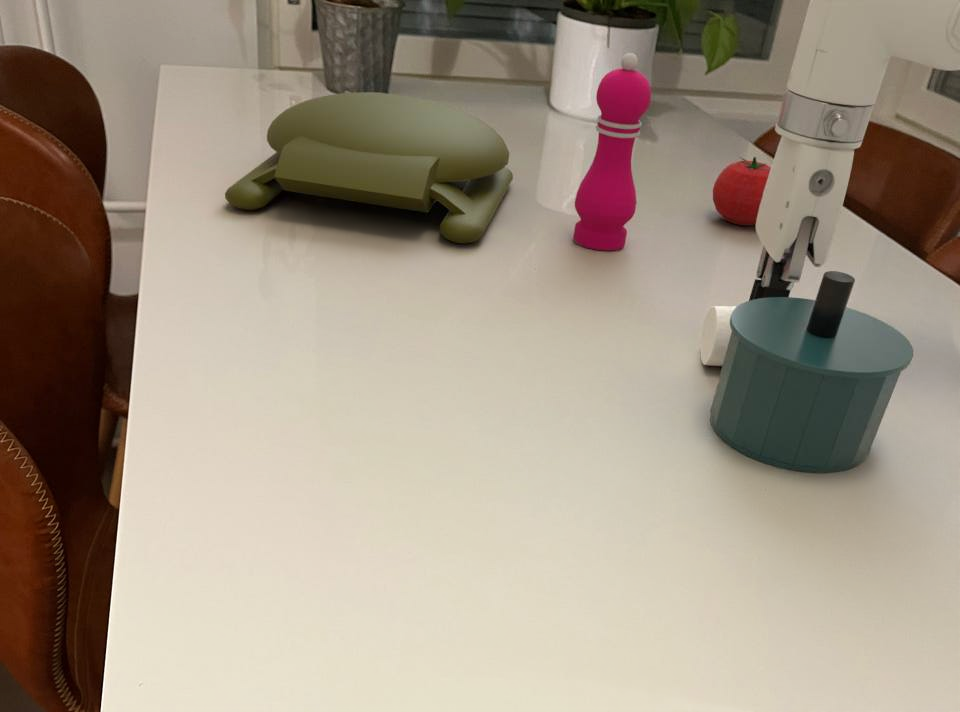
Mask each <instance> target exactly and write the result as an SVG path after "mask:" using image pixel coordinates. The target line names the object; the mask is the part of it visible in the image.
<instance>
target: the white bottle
mask: <svg viewBox="0 0 960 712" xmlns="http://www.w3.org/2000/svg"><path fill="white" fill-rule="evenodd" d="M736 307H737V306H736V305H735V306H734V305H731V306H730V305H729V306H728V305H712V306H711V307H710V308H709V309H708V311H707V313H706V315H705V318H704V322H703V325H702V331H701V338H700V339H701V340H700V362H701V363H702V365H704V366H711V367H714V366H715V367H722V366H723V362H724V359H725V355H726V351H727V347H728V344H729V340H730V336H731V333H732V330H731V327H730V317H731V314H732V312H733V310H734V309H735V308H736Z"/></svg>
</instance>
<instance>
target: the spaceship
mask: <svg viewBox="0 0 960 712" xmlns="http://www.w3.org/2000/svg"><path fill="white" fill-rule="evenodd" d="M266 132H267V133H266V142H267V144H268V145H269V147H270V148H271V149H272V150H274V151H275V152H274V153H273V154H272V155H271V156H269V157H268V158H267V159H266V160H264V161H263V162H261V163H260V164H259V165H258V166H256V167H255V168H253V169H252V170H251V171H250V172H248V173H247V174H246V175H244V176H243V177H241V178H240V179H239V180H237V181H235V183H234V184H231V186H229V187H228V188H227V189H226V191H225V193H224V198H225V200H226V201H227V202H228V204H229V205H231V206H233V207H235V208H237V209H240V210H246V211H254V210H258V209H261V208H263V207H265V206H267V204H269V203H270V202H271V201H272V200H274V199H275V198H276V197H277V196H278V195H279V194H281V192H283V191H285V192H291V193H297V194H303V195H304V194H305V195H312V196H317V197H325V198H330V199H336V200H342V201H350V202H356V203H364V204H369V205H377V206H381V207H387V208H393V209H394V208H395V209H401V210H408V211H415V212H420V213H421V212H422V213H428V212H429V211H430V210H431V208H432V207H433V206H434V204H435V203H436V201H437V202H439V203H440V205H442V206H443V207H445V208H446V209H447V210H448V211H447V214H446V215H445V216H444V218H443V219H442V221H441V223H440V224H439V232H440V234H441V235H442V237H444V238H445V239H447V240H448V241H450V242H453V243H456V244H464V245H465V244H471V243H474V242H477V241H478V240H480V239H481V238H482V237H483V235H484V233H485V231H486V230H487V227H488V226H489V223H490V222H491V220H492V218H493V216H494V214H495V213H496V211H497V209H498V207H499V206H500V204H501V202H502V200H503V198H504V196H505V194H506V193H507V190H508V189H509V187H510V185H511V183H512V181H513V178H514V175H513V172H512V171H511V170H510V169H509V168H508V167H506V166H507V165H508V164H509V159H510V150H509V149H508V146H507V144H506V142H505V140H504V138H503V137H502V136H501V135H500V134H499V133H498V132H497V131H496V130H495V129H494V128H493V127H492V126H491V125H489V124H488V123H486V122H485V121H483V120H482V119H480V118H478V117H476V116H475V115H473V114H472V113H469V112H467V111H465V110H462V109H460V108H457V107H455V106H452V105H449V104H446V103H443V102H440V101H436V100H433V99H428V98H418V97H414V96H409V95H403V94H395V93H388V92H375V91H368V92H367V91H365V92H363V91H361V92H360V91H359V92H341V93H340V92H339V93H334V94H328V95H324V96H318V97H314V98H310V99H307V100H303V101H302V102H300V103H297V104H295V105H292V106H290V107H288V108H286V109H285V110H284V111H282V112H281V113H280V114H278V115H277V116H276V117H275V118H274V119H273V120H272V121H271V123H270V125H269V127H268V129H267V131H266ZM462 181H467V183H466V185H465V186H464V188H463V189H462V190H460V188H458V187H456V185H454V184H453V182H462Z"/></svg>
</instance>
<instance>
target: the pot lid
mask: <svg viewBox="0 0 960 712" xmlns="http://www.w3.org/2000/svg"><path fill="white" fill-rule="evenodd" d="M855 282H856V279H855V277H854V276H852V275H851V274H848V273H845V272H842V271H837V270H828V271H825V272H824V273H823V275H822V279H821V281H820V285H819V288H818V291H817V294H816V298H815V299H810V298H803V297H802V298H801V297H792V296H789V297H769V298H760V299H754V300H750V301H749V300H747V301H745V302H743V303H740V304H738V305H737V306H736V308H735V309H734V310H733V312H732V314H731V317H730V327H731V330H732V331H733V333H734V335H735V336H736V337H737V338H738V339H739V340H740V341H741V342H743V343H744V344H745V345H746V346H748V347H749V348H751V349H752V350H754V351H756V352H758V353H759V354H761V355H763V356H765V357H768V358H770V359H772V360H774V361H777V362H779V363H782V364H785V365H788V366H791V367H794V368H797V369H801V370H805V371H809V372H813V373H817V374H823V375H828V376H836V377H844V378H879V377H885V376H890V375H894V374H896V373H899V372H903V371H904V370H906V369H907V368H908V367H909V366H910V365H911V362H912V361H913V358H914V347H913V345H912V344H911V341H910V340H909V339H907V337H906V335H904V334H903V333H902V332H900V331H899V330H897V329H896V328H895V327H894V326H892V325H890V324H888V323H887V322H885V321H882V320H881V319H879V318H877V317H875V316H872V315H870V314H868V313H865V312H863V311H859V310H857V309H853V308H851V307H847V305H848V302H849V300H850V297H851V293H852V290H853V288H854V285H855Z"/></svg>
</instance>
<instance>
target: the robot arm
mask: <svg viewBox="0 0 960 712" xmlns="http://www.w3.org/2000/svg"><path fill="white" fill-rule="evenodd" d="M795 50H796V51H795V55H794V57H793V61H792V65H791V67H790V73H789V76H788V80H787V83H786V87H785V90H784V94H783V98H782V101H781V105H780V108H779V112H778V116H777V120H776V123H775V127H774V132H776V134H777V135H779V136H780V140H779V143H778V145H777V147H776V152H775V154H774V157H773V161H772V164H771V166H770V167H771V169H770V173H769V176H768V179H767V182H766V186H765V189H764V192H763V196H762V199H761V203H760V207H759V211H758V215H757V220H756V224H755V232H756V234H757V237H758V239H759V240H760V242H761V243H762V249H761V253H760V257H759V262H758V265H757V270H756V275H755V276H756V278H755V279H754V282H753V284H752V289H751V292H750V296H749V298H748V301H750V300H754V299H760V298H769V297H790V294H791V291H792V289H793V287H794V286H795V285H794V284H795V283H799V282H800V280H801V278H802V274H803V269H804V265H805V261H806V257H807V258H808V260H809V261H810V262H811V264H812V265H813V267H815V268H821V267H823V266H824V265H825V264H826V262H827V260H828V258H829V254H830V251H831V247H832V245H833V240H834V237H835V234H836V230H837V228H838V223H839V220H840V216H841V214H842V213H841V212H842V208H843V205H844V201H845V197H846V195H847V194H846V193H847V190H848V186H849V181H850V178H851V172H852V168H853V162H854V157H855V150H856V149H860V148H861V146H862V144H863V141H864V138H865V135H866V131H867V128H868V126H869V122H870V119H871V116H872V114H873V110H874V107H875V104H876V101H877V99H878V96H879V92H880V90H881V86H882V84H883V81H884V78H885V75H886V71H887V69H888V65H889V63H890V59H891V58H898V59H902V60H906V61H909V62H913V63H916V64H920V65H922V66H925V67H928V68H932V69H935V70H940V71H947V72H951V71H952V72H953V71H960V0H810V1H809V4H808V7H807V10H806V15H805V19H804V23H803V26H802V28H801V33H800V35H799V40H798V43H797V47H796V49H795Z"/></svg>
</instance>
